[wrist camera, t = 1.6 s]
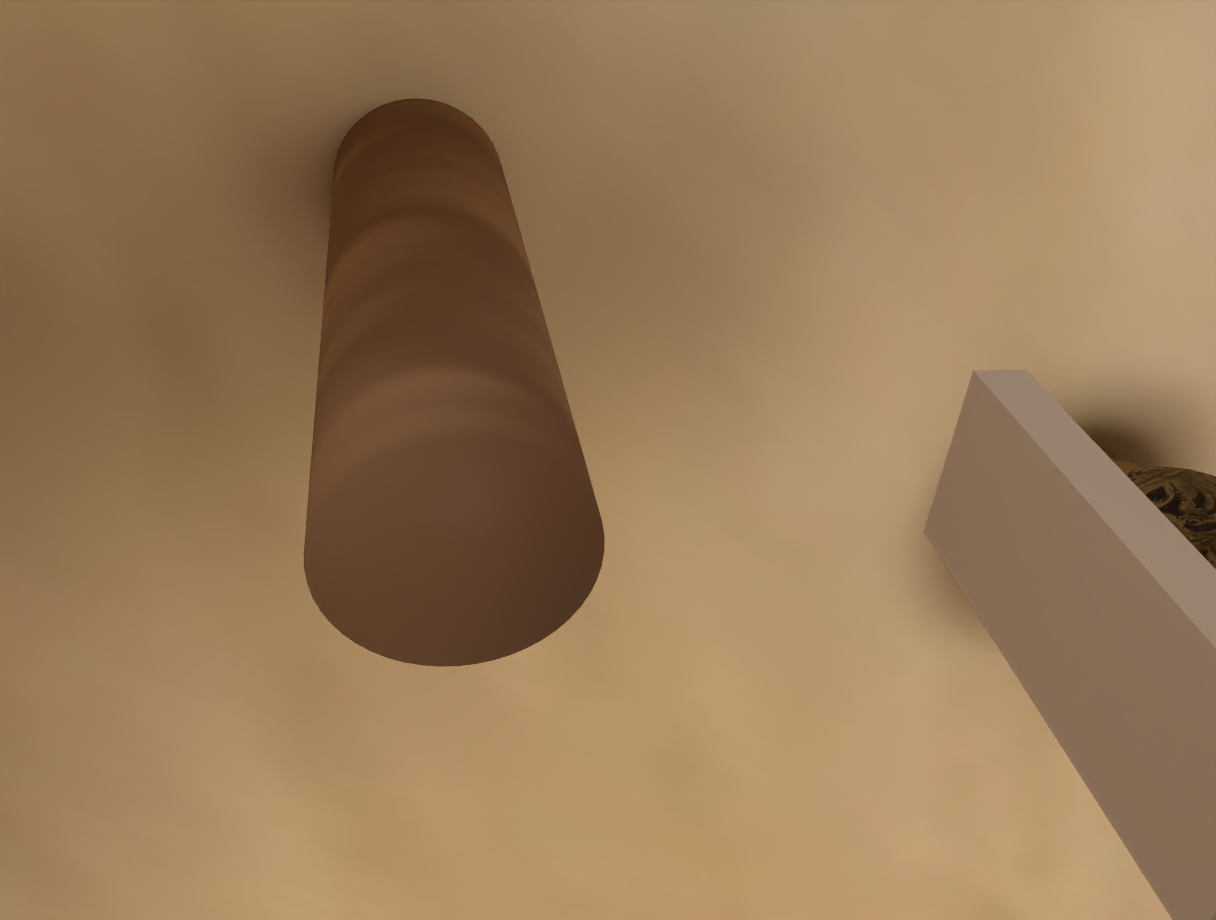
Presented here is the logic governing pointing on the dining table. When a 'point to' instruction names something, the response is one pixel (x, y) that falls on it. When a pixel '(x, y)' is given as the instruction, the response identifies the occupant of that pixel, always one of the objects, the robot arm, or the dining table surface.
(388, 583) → the walnut peg
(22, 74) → the dining table surface
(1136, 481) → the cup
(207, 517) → the dining table surface
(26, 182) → the dining table surface
